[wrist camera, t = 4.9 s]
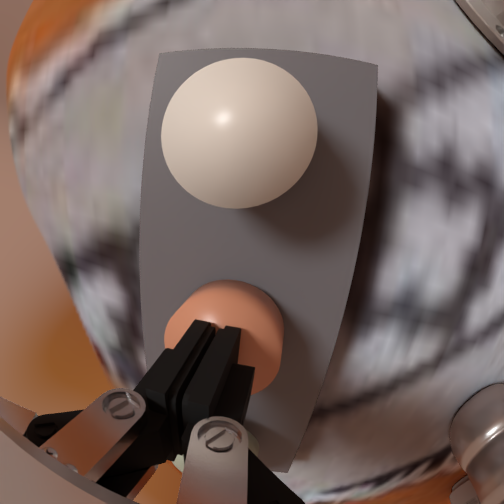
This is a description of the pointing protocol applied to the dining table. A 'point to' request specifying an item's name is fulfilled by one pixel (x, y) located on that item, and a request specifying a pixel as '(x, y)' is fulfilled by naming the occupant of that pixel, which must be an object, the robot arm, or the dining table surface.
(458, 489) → the energy drink can
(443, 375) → the dining table surface
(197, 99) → the key cream
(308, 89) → the button board
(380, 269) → the dining table surface
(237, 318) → the key terracotta
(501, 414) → the plastic bottle
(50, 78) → the dining table surface
